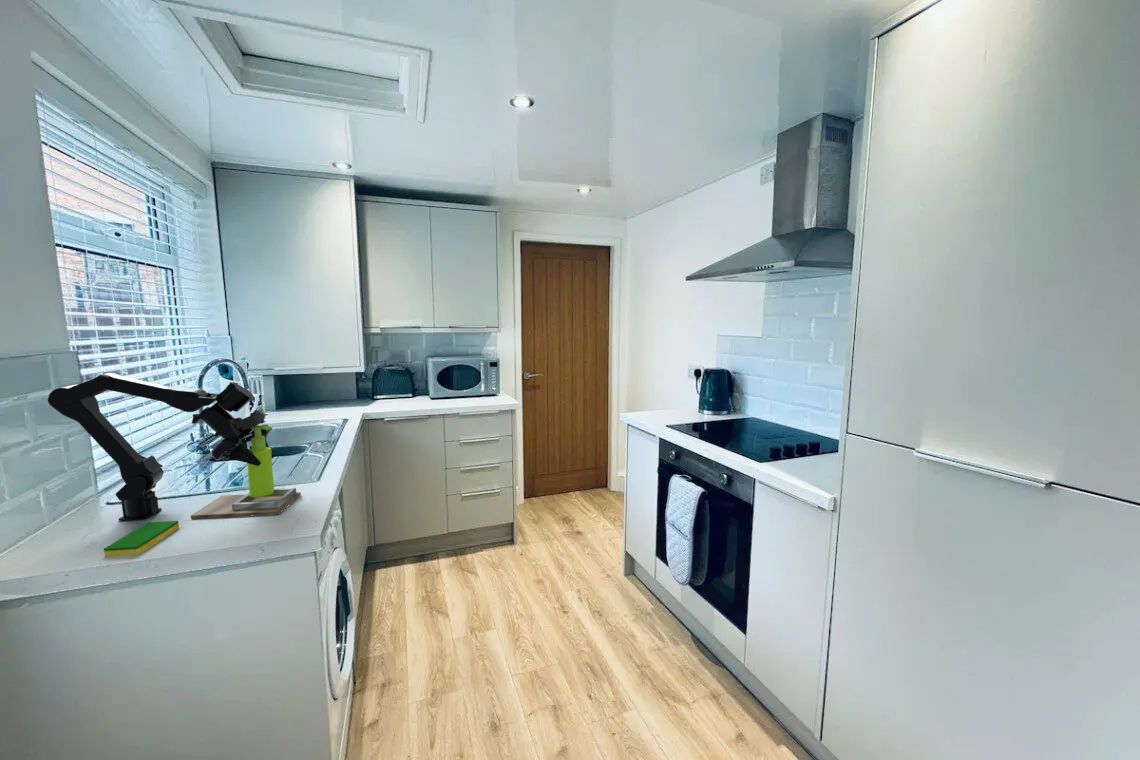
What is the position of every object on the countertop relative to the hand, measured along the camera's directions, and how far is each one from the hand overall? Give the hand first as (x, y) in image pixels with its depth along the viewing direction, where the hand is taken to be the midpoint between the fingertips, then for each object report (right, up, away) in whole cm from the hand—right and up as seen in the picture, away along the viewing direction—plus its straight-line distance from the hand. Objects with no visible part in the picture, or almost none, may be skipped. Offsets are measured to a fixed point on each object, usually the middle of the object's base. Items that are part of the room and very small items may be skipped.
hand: (266, 461), depth 132 cm
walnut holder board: (-5, -13, 0) cm, 14 cm away
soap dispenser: (-1, -10, +1) cm, 10 cm away
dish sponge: (-17, -17, -20) cm, 31 cm away
